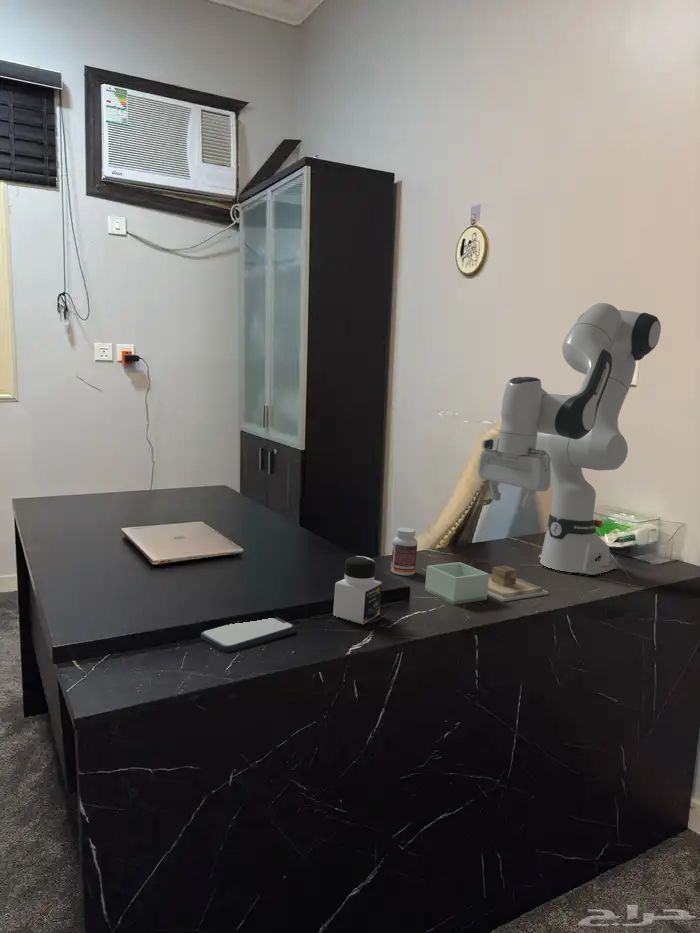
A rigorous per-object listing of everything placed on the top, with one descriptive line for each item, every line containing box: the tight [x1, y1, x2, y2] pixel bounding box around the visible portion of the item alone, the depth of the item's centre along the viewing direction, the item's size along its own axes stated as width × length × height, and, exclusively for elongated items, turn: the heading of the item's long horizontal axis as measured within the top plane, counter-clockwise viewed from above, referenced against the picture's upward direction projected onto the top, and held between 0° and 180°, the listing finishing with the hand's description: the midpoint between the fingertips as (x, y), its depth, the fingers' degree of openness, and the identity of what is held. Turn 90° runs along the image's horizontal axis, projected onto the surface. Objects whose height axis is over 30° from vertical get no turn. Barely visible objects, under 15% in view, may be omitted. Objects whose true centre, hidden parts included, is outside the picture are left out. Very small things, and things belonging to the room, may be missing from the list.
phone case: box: [200, 616, 295, 653], centre depth 124 cm, size 9×2×16 cm
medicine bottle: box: [332, 555, 383, 625], centre depth 137 cm, size 7×7×12 cm
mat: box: [487, 589, 549, 603], centre depth 163 cm, size 15×15×1 cm
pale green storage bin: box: [424, 561, 489, 606], centre depth 155 cm, size 10×10×6 cm
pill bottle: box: [390, 527, 418, 576], centre depth 170 cm, size 6×6×11 cm
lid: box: [488, 565, 544, 597], centre depth 163 cm, size 13×13×4 cm
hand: (509, 503), depth 161 cm, fingers open, 8 cm apart
